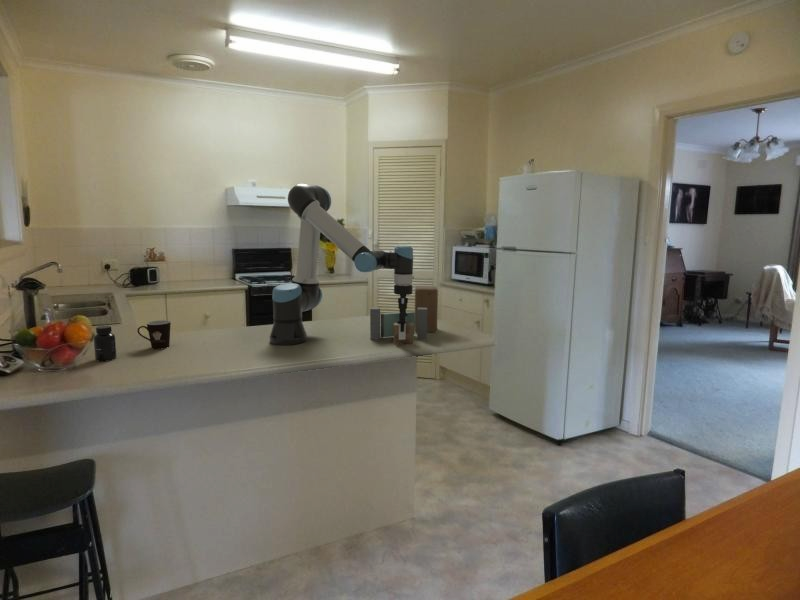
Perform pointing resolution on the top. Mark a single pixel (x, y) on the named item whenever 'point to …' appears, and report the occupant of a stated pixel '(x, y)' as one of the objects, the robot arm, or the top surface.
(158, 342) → the coffee mug
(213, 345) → the top surface
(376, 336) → the hinge post
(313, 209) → the robot arm
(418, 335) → the post
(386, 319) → the gate
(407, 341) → the brown rectangular block
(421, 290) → the wooden block
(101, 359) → the supplement bottle
